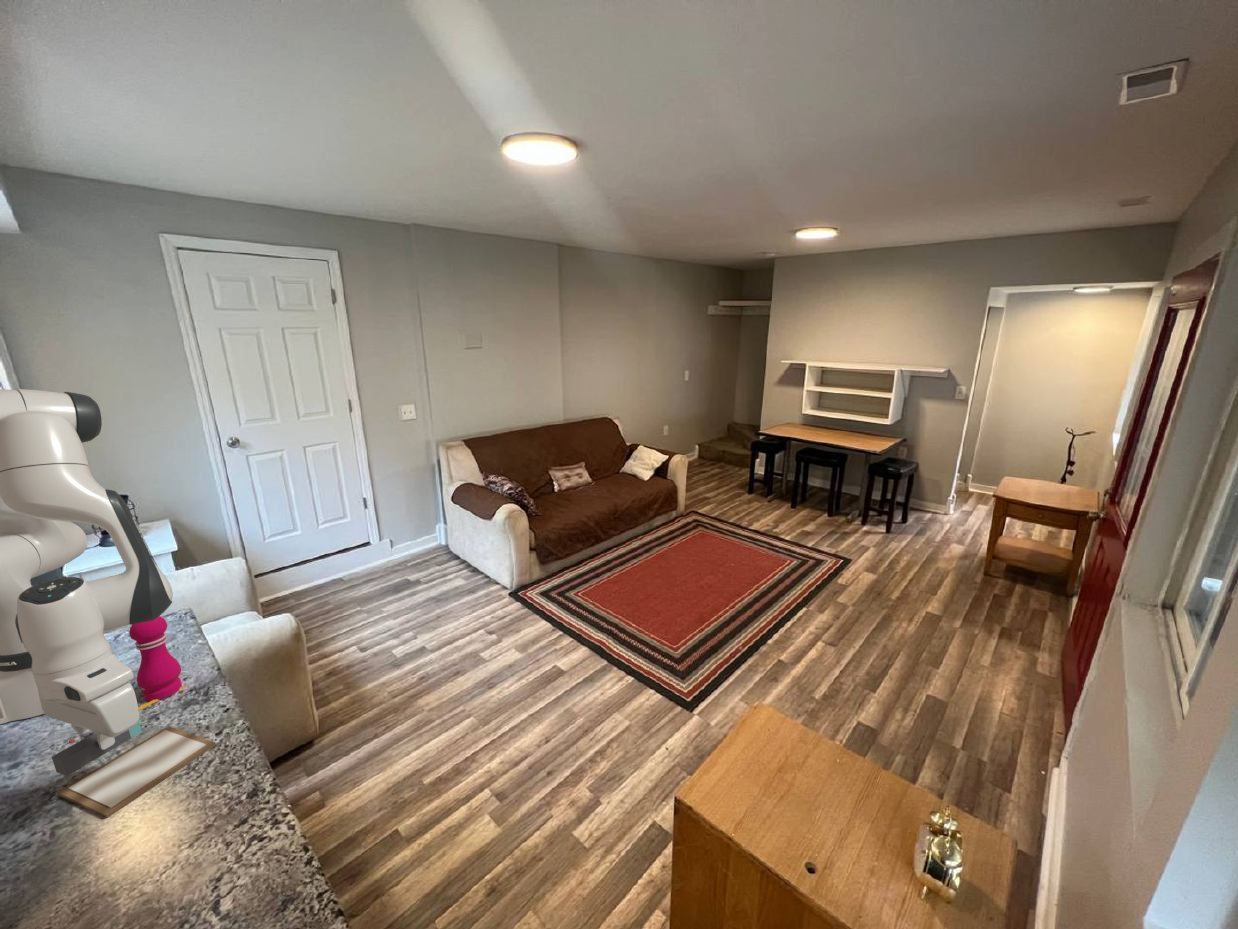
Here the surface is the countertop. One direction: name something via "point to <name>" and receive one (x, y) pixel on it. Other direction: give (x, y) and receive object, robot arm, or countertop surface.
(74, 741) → the pencil
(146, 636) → the pepper mill
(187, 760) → the board
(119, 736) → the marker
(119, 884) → the countertop surface
